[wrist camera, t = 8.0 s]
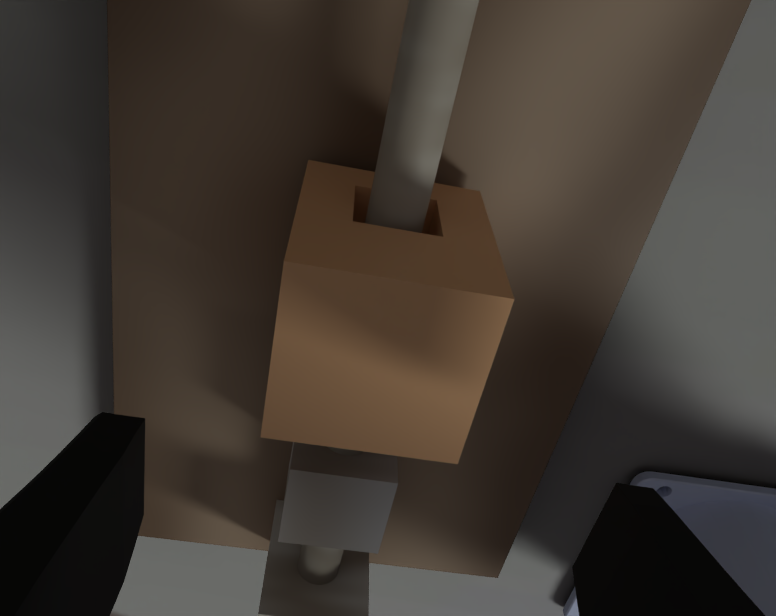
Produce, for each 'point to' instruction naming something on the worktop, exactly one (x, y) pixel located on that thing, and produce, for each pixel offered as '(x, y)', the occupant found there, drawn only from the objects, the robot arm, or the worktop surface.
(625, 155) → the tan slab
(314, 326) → the sleeve
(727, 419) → the worktop surface
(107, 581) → the robot arm
